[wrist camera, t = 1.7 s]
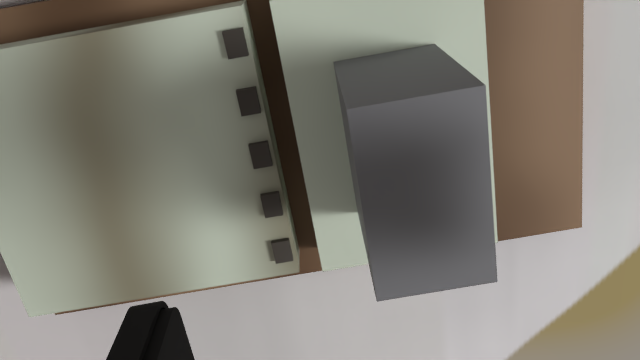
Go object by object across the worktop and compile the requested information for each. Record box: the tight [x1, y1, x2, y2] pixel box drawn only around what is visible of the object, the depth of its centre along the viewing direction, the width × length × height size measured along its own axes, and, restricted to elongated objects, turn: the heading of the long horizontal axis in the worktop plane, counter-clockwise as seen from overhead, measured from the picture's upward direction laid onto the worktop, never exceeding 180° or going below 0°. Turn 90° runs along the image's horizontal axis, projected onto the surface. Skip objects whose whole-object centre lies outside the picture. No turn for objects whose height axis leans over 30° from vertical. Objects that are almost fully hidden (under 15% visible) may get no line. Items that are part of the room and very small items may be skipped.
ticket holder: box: [0, 0, 583, 317], centre depth 19 cm, size 20×11×3 cm, turn 100°
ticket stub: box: [269, 0, 498, 301], centre depth 16 cm, size 6×9×6 cm, turn 10°
